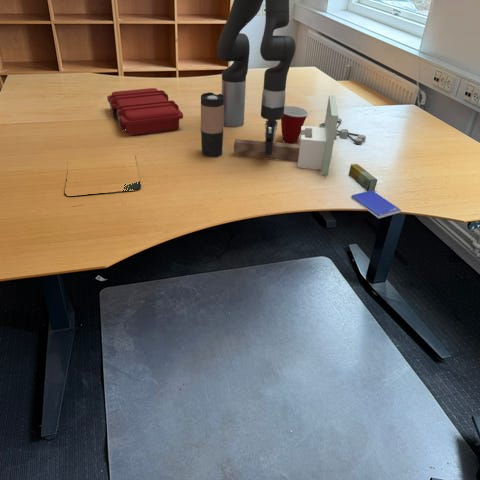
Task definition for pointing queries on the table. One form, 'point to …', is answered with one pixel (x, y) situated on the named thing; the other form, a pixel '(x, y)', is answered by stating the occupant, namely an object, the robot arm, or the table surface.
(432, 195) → the table surface
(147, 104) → the first aid kit
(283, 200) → the table surface
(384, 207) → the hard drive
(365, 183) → the medication box
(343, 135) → the pulley system
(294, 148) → the post on square base
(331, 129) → the grey upright panel
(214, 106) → the travel mug
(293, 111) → the plastic cup
